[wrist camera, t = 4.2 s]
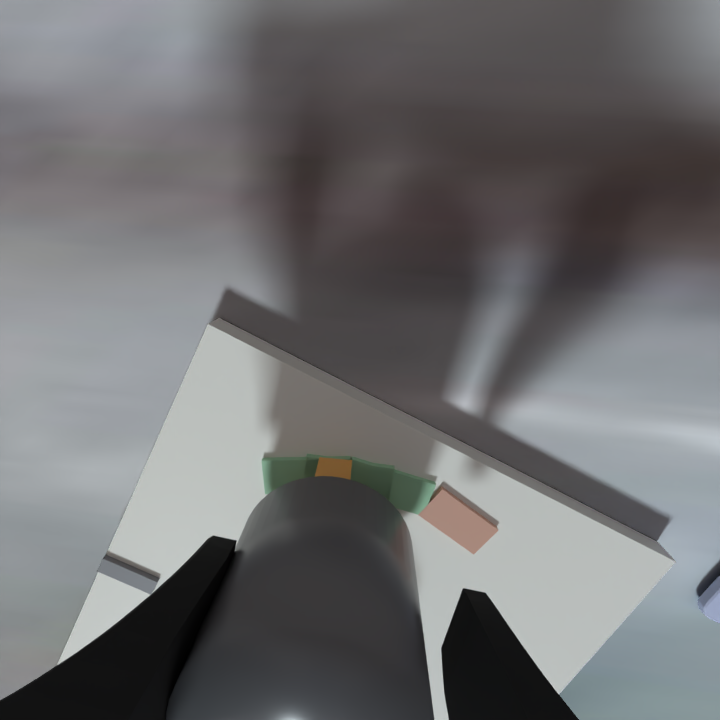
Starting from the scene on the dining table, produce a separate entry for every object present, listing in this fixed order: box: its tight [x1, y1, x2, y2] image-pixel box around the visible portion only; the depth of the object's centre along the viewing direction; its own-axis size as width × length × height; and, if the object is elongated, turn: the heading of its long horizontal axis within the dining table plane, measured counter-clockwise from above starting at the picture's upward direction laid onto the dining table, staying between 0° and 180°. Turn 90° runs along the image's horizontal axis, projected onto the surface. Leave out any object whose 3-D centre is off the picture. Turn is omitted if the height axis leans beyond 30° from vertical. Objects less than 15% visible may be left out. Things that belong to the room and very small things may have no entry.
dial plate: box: [57, 318, 676, 720], centre depth 17 cm, size 17×19×1 cm
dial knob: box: [166, 457, 434, 720], centre depth 12 cm, size 11×5×6 cm, turn 175°
